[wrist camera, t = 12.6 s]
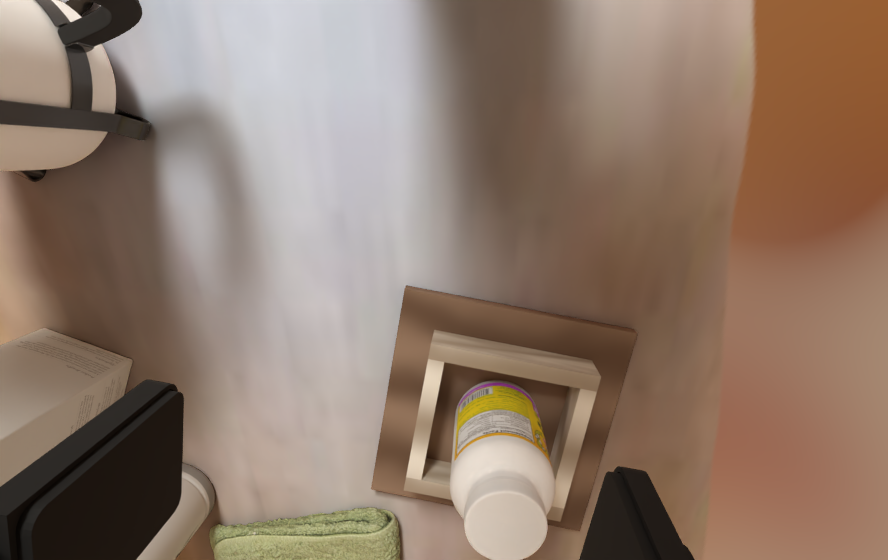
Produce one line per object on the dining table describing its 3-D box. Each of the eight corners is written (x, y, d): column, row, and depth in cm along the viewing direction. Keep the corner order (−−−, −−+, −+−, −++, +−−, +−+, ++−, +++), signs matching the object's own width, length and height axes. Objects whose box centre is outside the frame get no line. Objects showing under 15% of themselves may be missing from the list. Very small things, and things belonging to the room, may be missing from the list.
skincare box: (31, 387, 44) (-202, 508, 29) (44, 320, 42) (-196, 411, 27) (123, 422, 44) (-61, 559, 29) (139, 356, 43) (-47, 467, 27)
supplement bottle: (525, 459, 41) (546, 590, 29) (447, 440, 41) (434, 563, 29) (548, 387, 40) (580, 492, 27) (466, 367, 40) (461, 464, 27)
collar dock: (406, 285, 40) (398, 299, 36) (633, 329, 39) (650, 348, 35) (373, 481, 44) (363, 513, 40) (577, 522, 44) (587, 558, 40)
